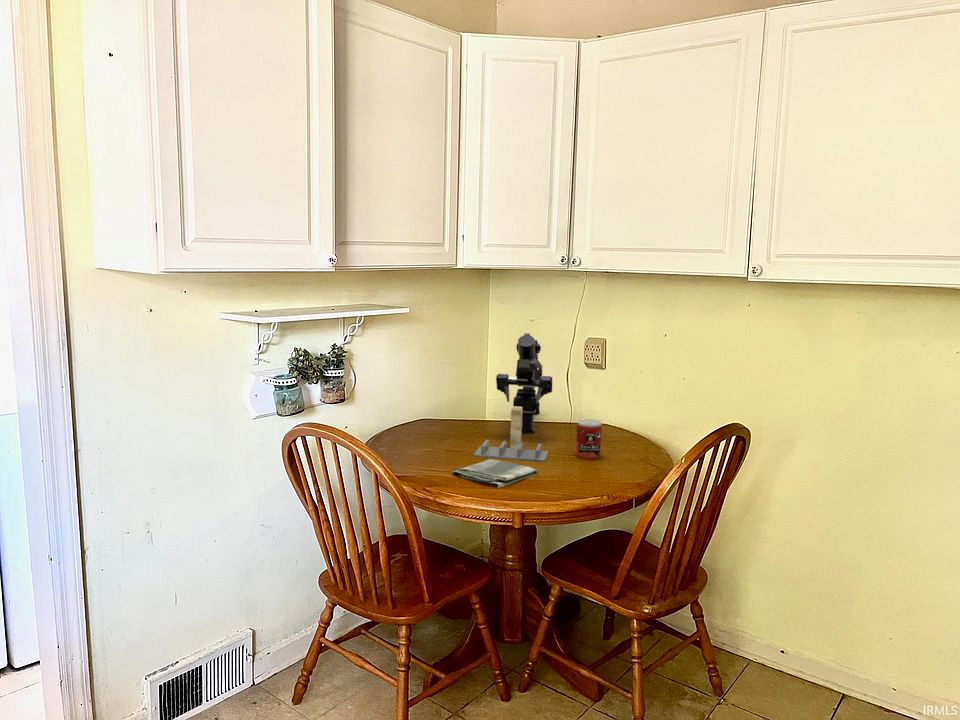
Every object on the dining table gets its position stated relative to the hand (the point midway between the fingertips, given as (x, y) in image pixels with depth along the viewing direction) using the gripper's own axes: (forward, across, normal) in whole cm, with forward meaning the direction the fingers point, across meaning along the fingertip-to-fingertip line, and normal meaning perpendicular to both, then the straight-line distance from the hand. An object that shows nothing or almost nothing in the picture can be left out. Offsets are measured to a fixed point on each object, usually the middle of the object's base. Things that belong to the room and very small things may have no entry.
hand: (522, 401), depth 238 cm
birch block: (+12, -1, +8) cm, 15 cm away
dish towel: (+37, -4, -9) cm, 38 cm away
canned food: (+16, +22, +6) cm, 28 cm away
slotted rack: (+19, -2, +3) cm, 20 cm away
